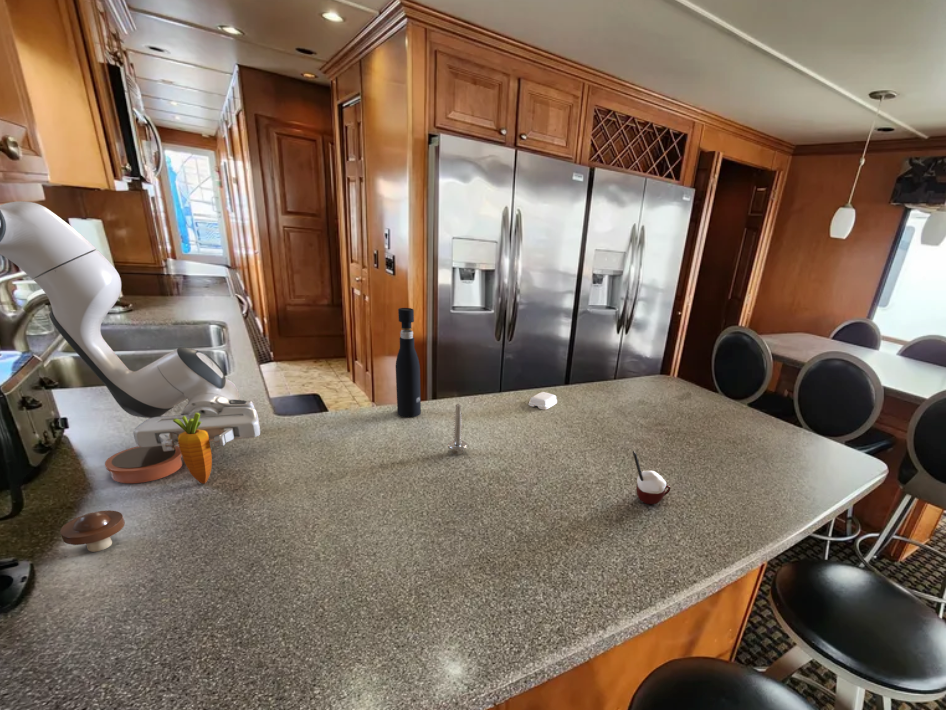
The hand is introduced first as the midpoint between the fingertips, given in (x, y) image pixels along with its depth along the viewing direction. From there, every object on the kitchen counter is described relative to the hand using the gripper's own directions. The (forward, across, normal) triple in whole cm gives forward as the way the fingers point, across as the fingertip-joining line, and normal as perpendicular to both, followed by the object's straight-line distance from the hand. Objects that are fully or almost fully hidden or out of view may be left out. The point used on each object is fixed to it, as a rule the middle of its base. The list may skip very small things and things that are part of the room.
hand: (193, 445), depth 87 cm
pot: (-10, -11, +9) cm, 17 cm away
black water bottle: (-28, +44, +9) cm, 53 cm away
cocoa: (+31, +85, +9) cm, 91 cm away
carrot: (-1, 0, +9) cm, 9 cm away
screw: (-1, +51, +9) cm, 52 cm away
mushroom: (+16, -11, +9) cm, 21 cm away
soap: (-27, +86, +9) cm, 90 cm away
